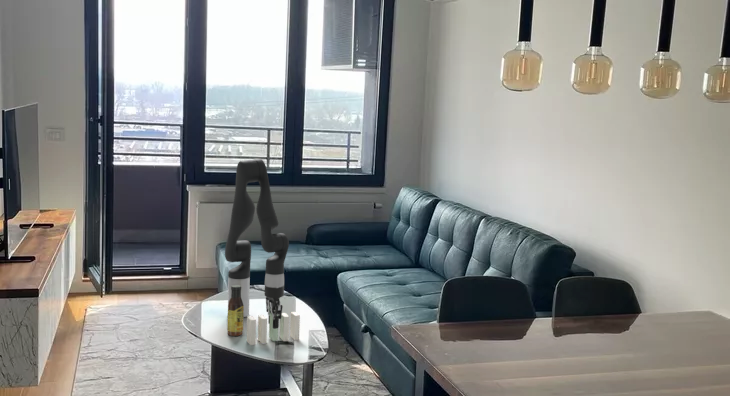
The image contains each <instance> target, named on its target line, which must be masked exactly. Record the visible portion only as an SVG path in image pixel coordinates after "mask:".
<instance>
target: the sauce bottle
mask: <svg viewBox="0 0 730 396" xmlns="http://www.w3.org/2000/svg"><path fill="white" fill-rule="evenodd" d="M231 290H232V293H231V299H230V300H229V303H228V302H227V324H226V325H227V328H226V329H227V335H228V336H231V337H238V336H241V335H243V332H244V331H243V330H244V317H243V312H244V305H243V302H242V299H241V286H240V285H232V286H231Z"/></svg>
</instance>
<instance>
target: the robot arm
mask: <svg viewBox="0 0 730 396" xmlns="http://www.w3.org/2000/svg"><path fill="white" fill-rule="evenodd" d="M235 173H236V175H235V186H234V188H235V191H234V196H233V198H234V199H233V203H232V204H233V205H232V209H231V216H230V223H229V231H228V235H227V239H226V243H225V248H224V257H225V260H226V261H227V262H229V263H239V264H238V265H237V266H235V267H233V268H231V269H229V270H228V274H227V276H228V277H227V278H228V279H227V282H228V283H227V284H228V285H227V286H228V287H227V289H228V290H227V291H228V292H227V304H228V303H229V300H230V299H231V293H232V290H231V286H232V285H240V286H241V299H242V302H243V305H244V312H243V318H247V316H250V288H251V287H250V284H251V283H250V279H251V278H250V277H251V262H252V261H251V260H252V259H251V258H252V245H251V242H250V240H244V239H242V240H239V238H240V237H241V235H243V233H244V232H246V231H247V229H248V228H249V227H250V226H251V225H252V223H253V222H254V217H255V211H256V215H257V216H256V217H257V219H258V223H259V225H260V233H261V234H260V235H261V236H260V237H261V238H260V239H261V240H260V243H261V247H262V250H264V251H265V253H267V254H270V253H274V254H273V255H272V256H270V257H268V258H267V259H266V260H265V276H264V296H265V308H266V309H265V310H266V313H267V315H268V318H267V324H269V320H270V316H269V314H270V313H272V314H273V328H274V329H276V328H278V329H279V328H280V319H281V315H282V313H283V307H284V306H283V305H282V304H281V301H280V298H283V297H284V295H285V274H284V273H285V261H286V257H287V253H288V250H289V246H290V242H289V241H290V240H289V237H288V236H287V235H286V234H285V233H282V232H279V233H272V231H273V230H276V229H277V228H278V227H279V221H278V220H279V219H278V217H277V214H276V210H275V208H274V203H273V199H272V193H271V192H272V191H271V185H270V182H269V181H270V180H269V176H268V169H267V166H266V163H265V161H264V160H263V159H262V158H251V159H242V160H240V161H239V162H238V163H237V166H236V171H235ZM255 182H258V184H259V187H260V189H259V191H260V193H259V196H258V198H257V199H258V200H257V203H256V205H255V203H254V200H253V199H252V198H251V196H250V195H249V193H248V190H247V186H248V184H249V183H255Z"/></svg>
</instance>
